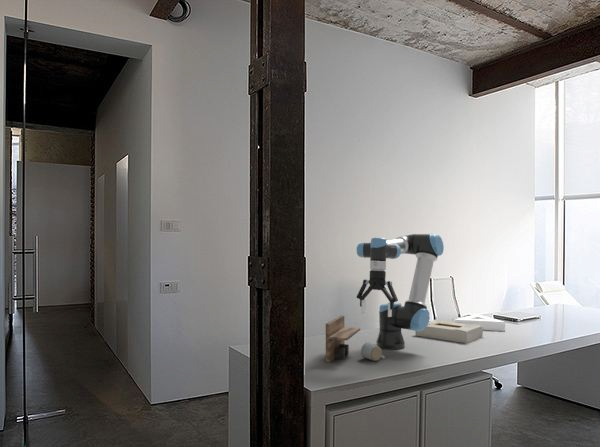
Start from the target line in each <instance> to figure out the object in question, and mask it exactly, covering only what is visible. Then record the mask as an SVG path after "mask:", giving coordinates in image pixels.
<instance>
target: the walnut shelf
mask: <svg viewBox="0 0 600 447" xmlns="http://www.w3.org/2000/svg"><path fill="white" fill-rule="evenodd" d="M359 331H361V327H350V326H349V327H348V326H345V315H342V314H341V315H339V316H337V317H336V318H333V319H332V320H329V321H328V322H327V323H325V363H331V362H332V361H333V360H335V359H341V360H342V359H343V360H345V358H346V356H349V355H350V354H349V348H350V347H349V344H346V342H345V341H348V340H350V339H351V338H352V337H353V336H355V335H356V334H357V333H359Z"/></svg>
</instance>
